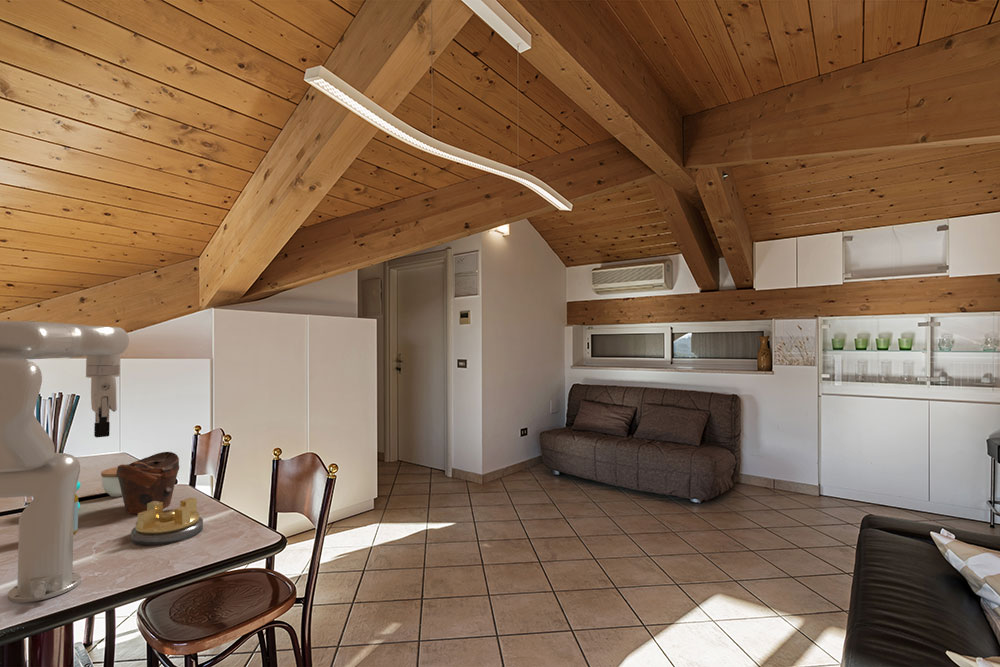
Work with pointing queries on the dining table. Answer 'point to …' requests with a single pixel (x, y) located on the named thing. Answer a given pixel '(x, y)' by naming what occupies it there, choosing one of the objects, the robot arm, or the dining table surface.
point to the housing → (166, 536)
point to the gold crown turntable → (167, 518)
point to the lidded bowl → (111, 482)
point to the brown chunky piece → (148, 481)
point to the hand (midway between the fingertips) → (101, 436)
